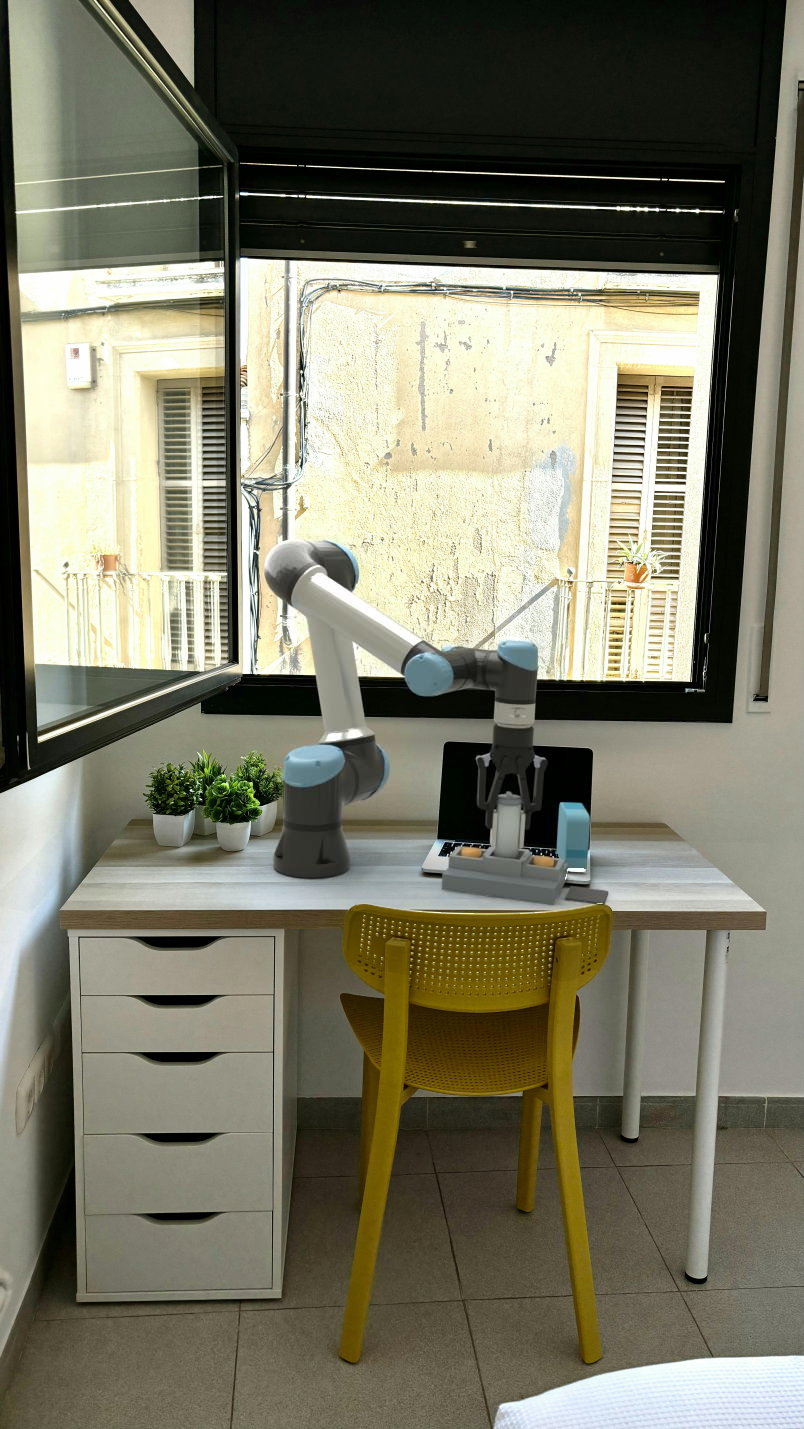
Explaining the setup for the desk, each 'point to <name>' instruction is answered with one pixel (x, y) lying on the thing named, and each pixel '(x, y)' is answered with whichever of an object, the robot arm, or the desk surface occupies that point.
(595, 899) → the mat
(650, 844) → the desk surface
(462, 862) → the housing
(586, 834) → the data package
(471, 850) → the plunger left
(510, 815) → the cylinder
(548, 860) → the plunger right
